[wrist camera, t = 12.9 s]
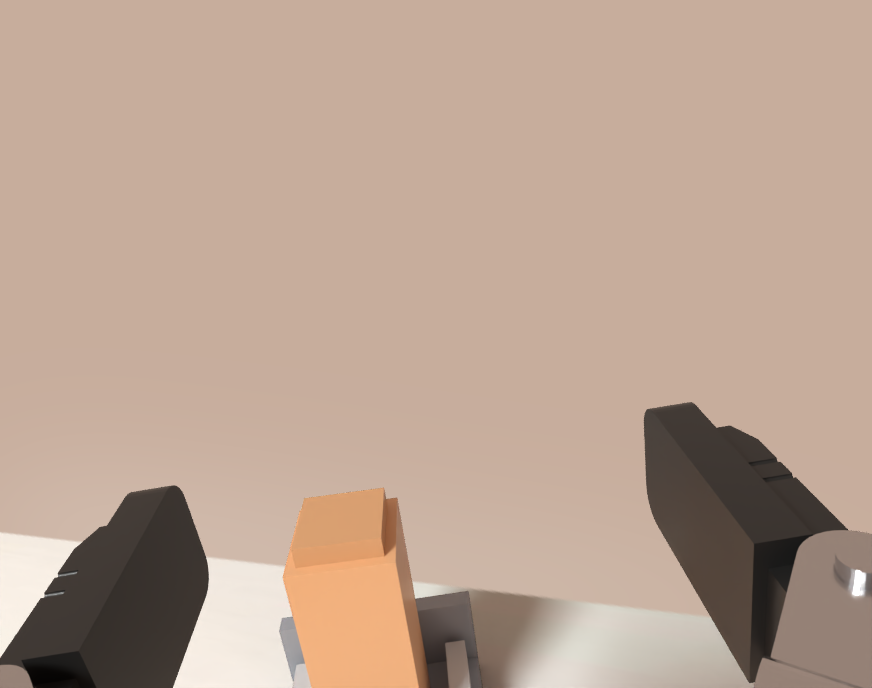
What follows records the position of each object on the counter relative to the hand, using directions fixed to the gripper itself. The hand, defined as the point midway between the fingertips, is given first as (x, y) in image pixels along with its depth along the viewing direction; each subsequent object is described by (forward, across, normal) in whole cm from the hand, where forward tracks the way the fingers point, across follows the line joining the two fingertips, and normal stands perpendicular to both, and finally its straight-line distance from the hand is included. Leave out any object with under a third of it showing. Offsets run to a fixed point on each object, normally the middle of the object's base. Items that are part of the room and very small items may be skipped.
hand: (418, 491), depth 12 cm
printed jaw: (+11, +4, +19) cm, 22 cm away
